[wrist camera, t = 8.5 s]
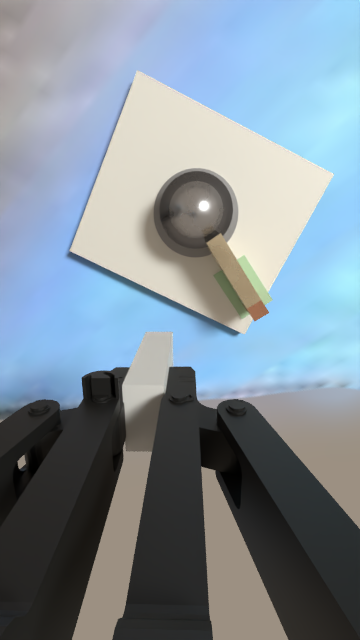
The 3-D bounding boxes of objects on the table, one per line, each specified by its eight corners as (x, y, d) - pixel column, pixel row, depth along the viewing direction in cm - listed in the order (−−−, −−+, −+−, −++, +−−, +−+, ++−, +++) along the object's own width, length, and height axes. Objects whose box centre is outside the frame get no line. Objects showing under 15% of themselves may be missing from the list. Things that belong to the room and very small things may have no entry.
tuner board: (73, 250, 36) (68, 251, 34) (139, 76, 31) (136, 69, 30) (248, 334, 37) (251, 338, 36) (335, 180, 33) (341, 177, 31)
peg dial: (149, 204, 33) (143, 198, 28) (206, 163, 31) (208, 151, 27) (226, 324, 35) (231, 335, 31) (281, 290, 34) (293, 297, 30)
